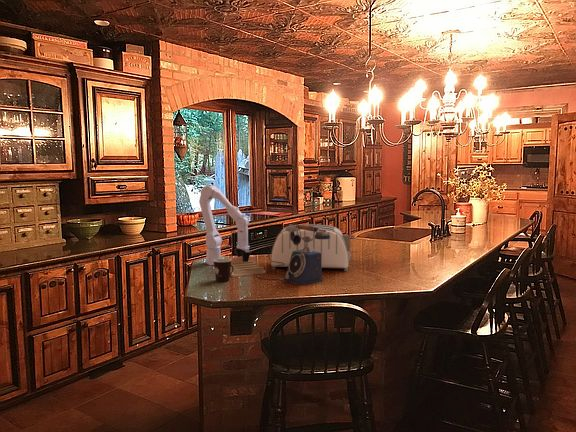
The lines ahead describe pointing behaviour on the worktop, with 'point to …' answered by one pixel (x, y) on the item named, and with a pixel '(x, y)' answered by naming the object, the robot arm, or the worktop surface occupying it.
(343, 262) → the toaster
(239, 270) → the drying rack
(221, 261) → the coffee mug
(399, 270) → the worktop surface
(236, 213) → the robot arm
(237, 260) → the clay strip
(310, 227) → the rotary telephone
